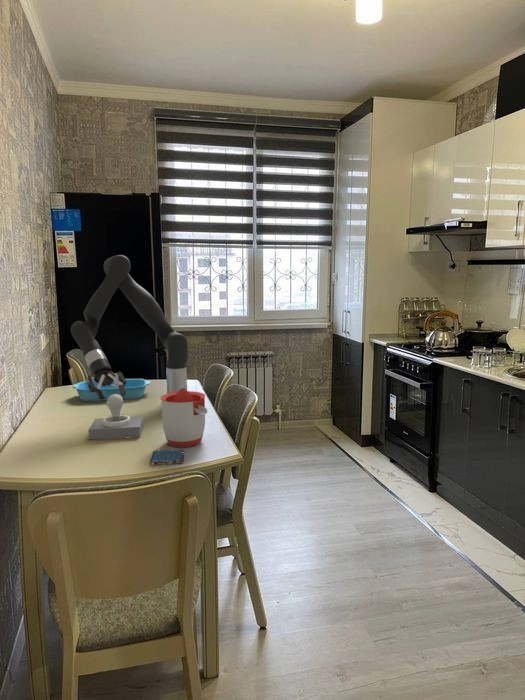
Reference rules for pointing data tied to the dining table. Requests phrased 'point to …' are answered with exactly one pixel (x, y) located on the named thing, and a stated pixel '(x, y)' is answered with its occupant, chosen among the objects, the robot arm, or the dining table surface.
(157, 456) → the woven mat
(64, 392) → the dining table surface
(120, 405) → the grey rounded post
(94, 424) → the grey ring holder base
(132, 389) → the casserole dish
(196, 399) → the citrus juicer
